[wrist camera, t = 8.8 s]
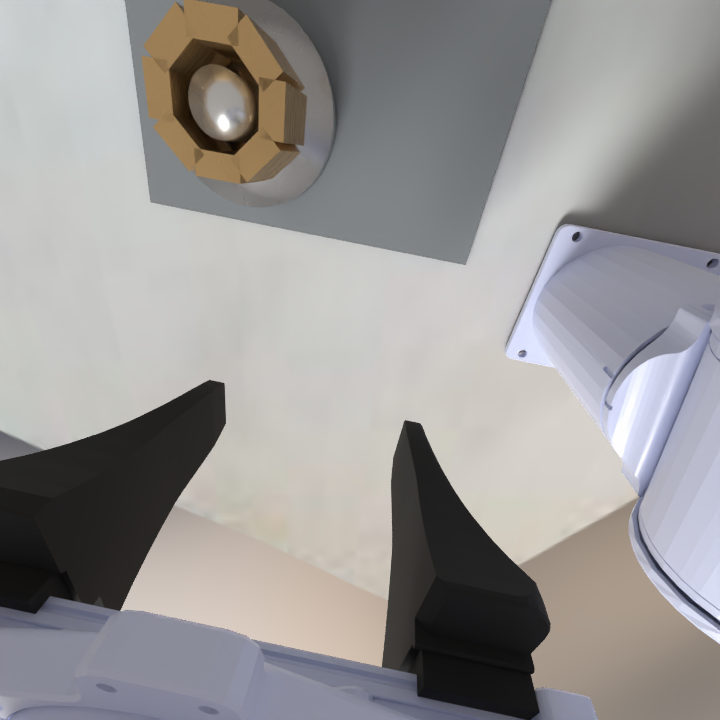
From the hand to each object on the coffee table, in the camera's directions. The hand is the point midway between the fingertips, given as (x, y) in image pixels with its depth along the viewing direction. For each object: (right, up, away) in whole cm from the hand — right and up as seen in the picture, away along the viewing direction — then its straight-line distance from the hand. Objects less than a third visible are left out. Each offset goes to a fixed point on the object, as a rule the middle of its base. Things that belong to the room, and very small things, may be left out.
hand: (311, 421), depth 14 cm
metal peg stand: (-3, +14, +3) cm, 15 cm away
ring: (-3, +14, +2) cm, 14 cm away
